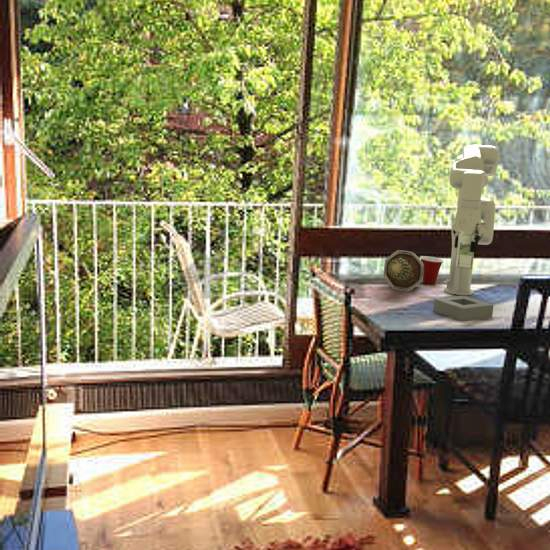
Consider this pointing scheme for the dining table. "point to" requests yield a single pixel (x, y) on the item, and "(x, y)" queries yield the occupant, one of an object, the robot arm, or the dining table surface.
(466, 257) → the syrup box
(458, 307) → the socket stand
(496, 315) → the dining table surface
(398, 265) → the potted plant
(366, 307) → the dining table surface
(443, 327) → the dining table surface
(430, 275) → the plastic cup
